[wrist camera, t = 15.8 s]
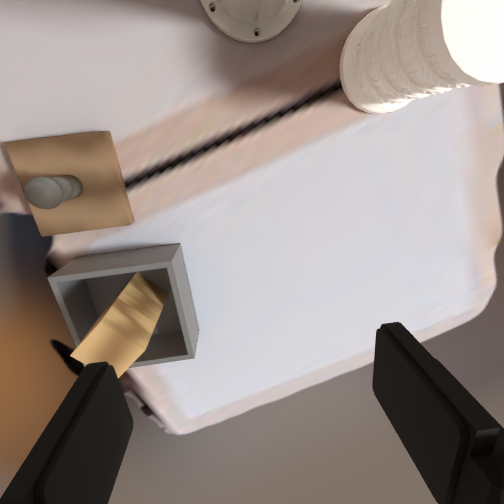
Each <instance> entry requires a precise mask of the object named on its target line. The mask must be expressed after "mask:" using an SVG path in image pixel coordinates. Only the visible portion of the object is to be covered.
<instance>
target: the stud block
mask: <svg viewBox="0 0 504 504" xmlns="http://www.w3.org/2000/svg"><path fill="white" fill-rule="evenodd" d="M4 144H5V147H6V149H7V152H8V154H9V157H10V159H11V162H12V164H13V167H14V169H15V172H16V174H17V177H18V179H19V182H20V184H21V187H22V189H23V192H24V194H25V197H26V199H27V202H28V204H29V206H30V209H31V211H32V214H33V216H34V219H35V221H36V224H37V226H38V229H39V231H40V234H41V236H49V235H57V234H65V233H72V232H80V231H88V230H95V229H103V228H111V227H118V226H126V225H131V224H132V223H133V222H134V218H133V214H132V211H131V207H130V203H129V200H128V196H127V192H126V189H125V185H124V181H123V177H122V174H121V170H120V166H119V163H118V159H117V155H116V152H115V148H114V144H113V141H112V137H111V133H110V132H109V131H98V132H90V133H82V134H73V135H65V136H56V137H48V138H40V139H31V140H23V141H15V142H6V143H4Z"/></svg>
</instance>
